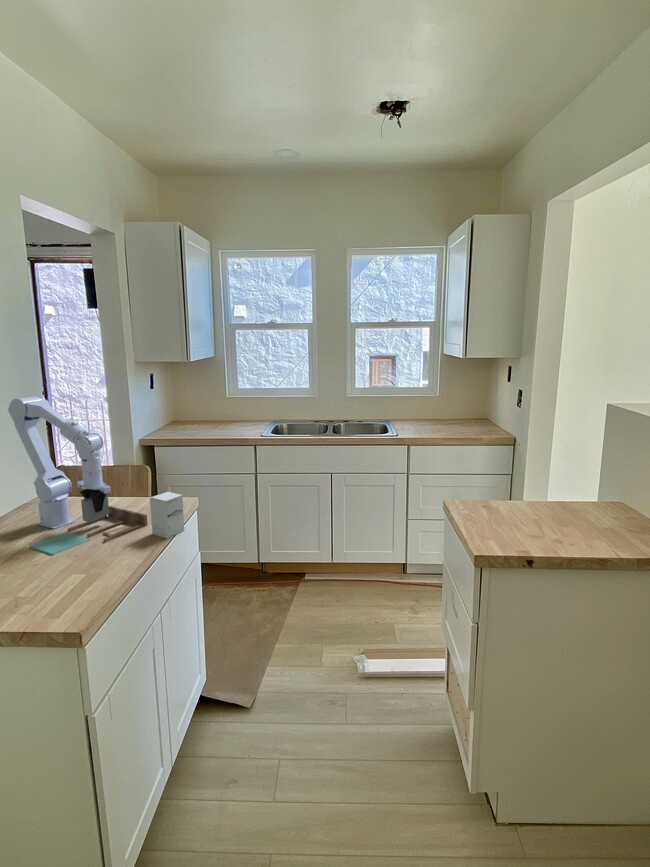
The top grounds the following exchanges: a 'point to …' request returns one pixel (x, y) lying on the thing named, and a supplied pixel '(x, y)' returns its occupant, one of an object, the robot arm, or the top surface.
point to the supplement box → (167, 514)
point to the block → (89, 509)
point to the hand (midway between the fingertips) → (96, 510)
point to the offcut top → (115, 530)
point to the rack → (117, 514)
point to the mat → (59, 543)
